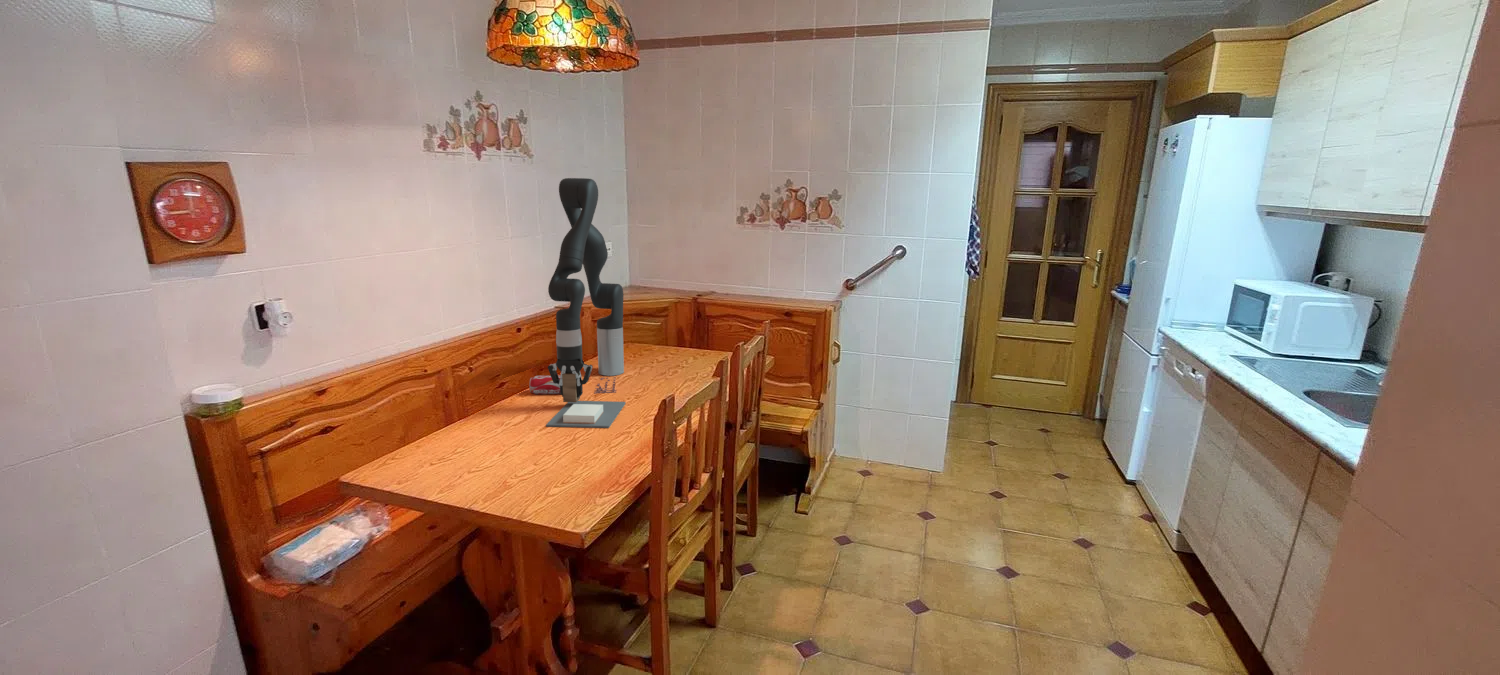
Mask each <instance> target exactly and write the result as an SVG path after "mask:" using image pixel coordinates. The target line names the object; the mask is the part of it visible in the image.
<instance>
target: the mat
mask: <svg viewBox="0 0 1500 675" xmlns="http://www.w3.org/2000/svg"><path fill="white" fill-rule="evenodd" d="M573 404H596V405H603V413H602V415H601V416H600V417H599V419H598V420H597V421H596V423H595V424H586V423H564V422H563V415H564V414H565V413H566V412H567V410H568V409H569V408H570V407H571V406H572V405H573ZM625 405H626V401H612V400H611V401H606V400H603V401H601V400H578V401H577V402H566V404H565V405H563V406H562V408H560V409H559V411H558V412H557V413H556V414H554V416H553V417H552V418H551V419H550V420H549V421H548V422H546V423H545V427H547V428H549V427H551V428H584V429H586V428H587V429H588V428H589V429H590V428H591V429H595V428H597V429H609V428H610V427H611V425H612V424H613V423H614V421H615V420H616V418H617V417H618V415H619V414H620V413H621V411H622V410H623V408H624V407H625Z"/></svg>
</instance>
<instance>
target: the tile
mask: <svg viewBox="0 0 1500 675" xmlns="http://www.w3.org/2000/svg"><path fill="white" fill-rule="evenodd" d="M602 413H603V405H596V404H573V405H572V406H571V407H570V408H569V409H568V410H567V412H566V413H565V414H564V415H563V422H564V423H586V424H595V423H596V421H597V420H598V419H599V417H600V416H601V415H602Z"/></svg>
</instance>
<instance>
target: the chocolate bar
mask: <svg viewBox="0 0 1500 675" xmlns="http://www.w3.org/2000/svg"><path fill="white" fill-rule="evenodd" d="M605 379H606V380H607V381H605V384H604V387H602V386H601V385H600V383H597V385H596V386H597V387H595V390H594V393H593V394H615V393H617V389H616V376H615V377H614V376H613V381H612V387H611V389H608V383H609V382H610V381H611V379H609V377H606V378H605V375H602V377H601V378H600V381H603V380H605Z"/></svg>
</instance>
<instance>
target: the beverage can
mask: <svg viewBox="0 0 1500 675" xmlns="http://www.w3.org/2000/svg"><path fill="white" fill-rule="evenodd" d="M560 376H561V375H558V377H559V379H560ZM528 388H529V392H530V393H532V394H534V395H561V394H560V385H559V384H557V383H556V384H555V383H553V380H552V378H551V375H535V376H533V377H530V378H529V387H528Z"/></svg>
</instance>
